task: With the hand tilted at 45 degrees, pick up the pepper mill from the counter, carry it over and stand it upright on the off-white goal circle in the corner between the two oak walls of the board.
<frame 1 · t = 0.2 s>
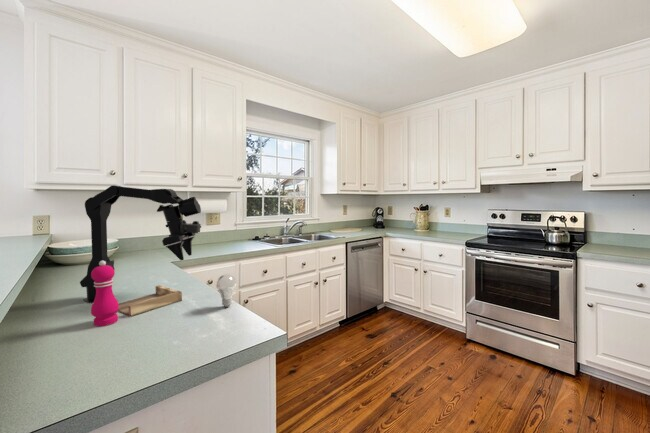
hand: (186, 257, 121), 15 cm above the counter, tool pointing down, fingers open, 9 cm apart
brown flat rimmed piece: (146, 303, 113), on the counter
pepper mill: (106, 323, 97), on the counter
light bulb: (227, 307, 109), on the counter
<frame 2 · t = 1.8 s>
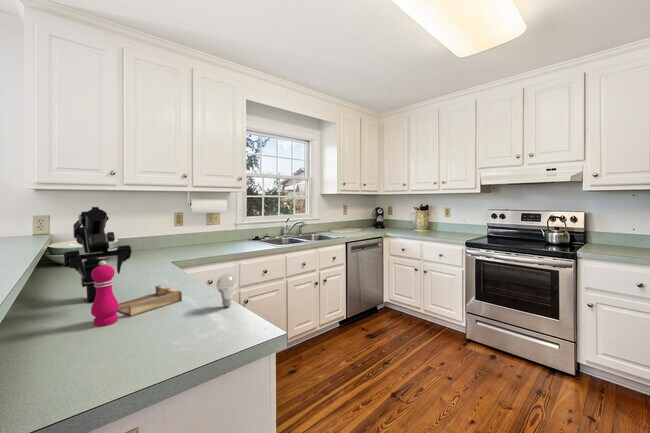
hand: (102, 275, 102), 13 cm above the counter, tool tilted 45°, fingers open, 9 cm apart
nothing on the counter moved.
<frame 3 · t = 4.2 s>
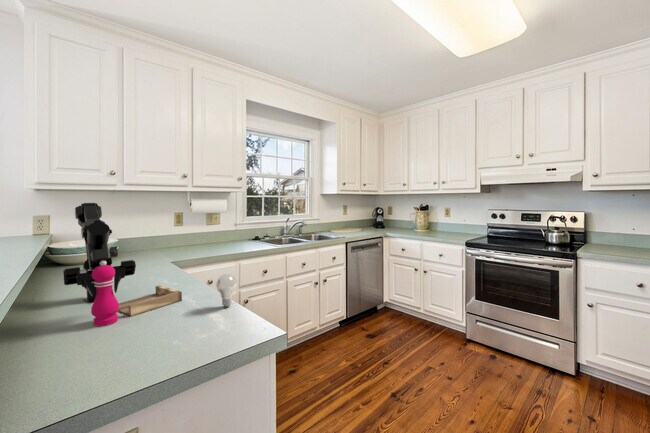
hand: (104, 294, 95), 10 cm above the counter, tool tilted 45°, fingers open, 5 cm apart
pepper mill: (106, 322, 97), on the counter, touching gripper
everything else where it was.
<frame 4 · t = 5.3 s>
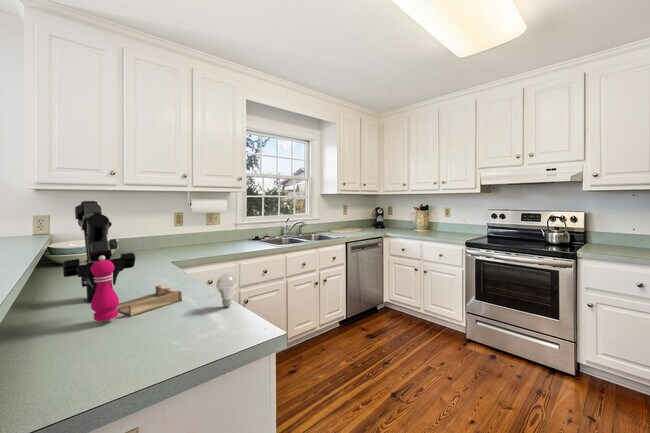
hand: (104, 286, 95), 12 cm above the counter, tool tilted 45°, fingers closed on pepper mill, 5 cm apart
pepper mill: (106, 317, 97), point 1 cm above the counter, touching gripper
everything else where it was.
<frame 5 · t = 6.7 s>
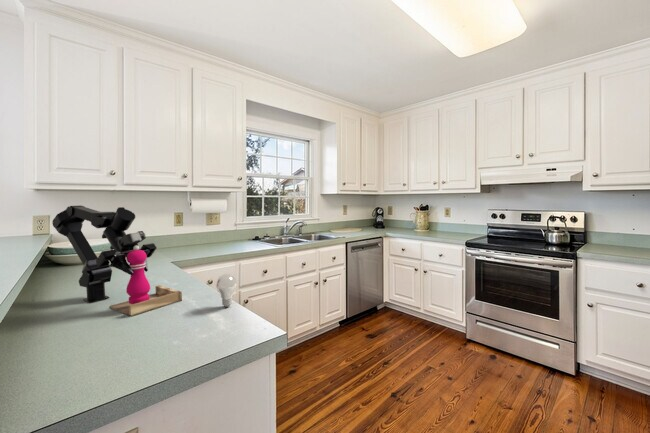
hand: (139, 272, 107), 13 cm above the counter, tool tilted 45°, fingers closed on pepper mill, 5 cm apart
pepper mill: (139, 301, 108), point 3 cm above the counter, touching gripper
everything else where it was.
when the fingers open (11 cm above the counter, at t = 8.1 s): pepper mill stays where it is, resting on brown flat rimmed piece.
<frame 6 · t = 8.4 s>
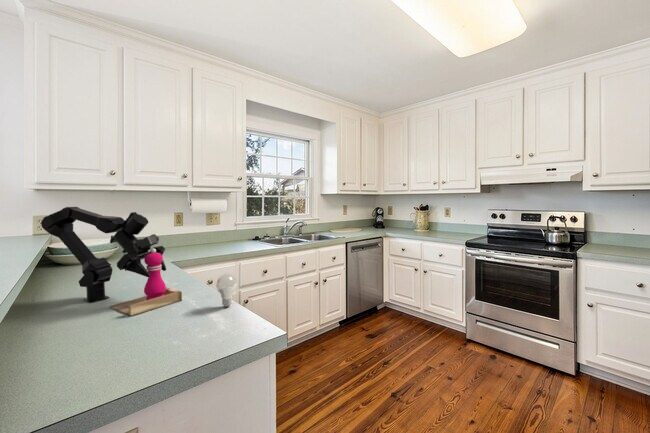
hand: (157, 273, 113), 11 cm above the counter, tool tilted 45°, fingers open, 8 cm apart
pepper mill: (155, 301, 114), resting on brown flat rimmed piece
everything else where it was.
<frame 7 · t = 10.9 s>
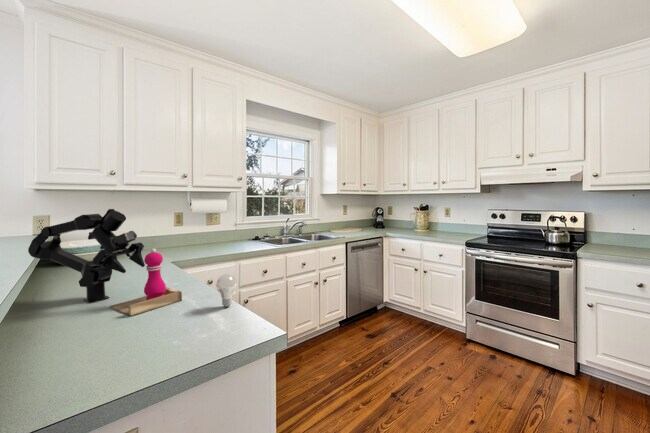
hand: (134, 269, 115), 13 cm above the counter, tool tilted 45°, fingers open, 9 cm apart
nothing on the counter moved.
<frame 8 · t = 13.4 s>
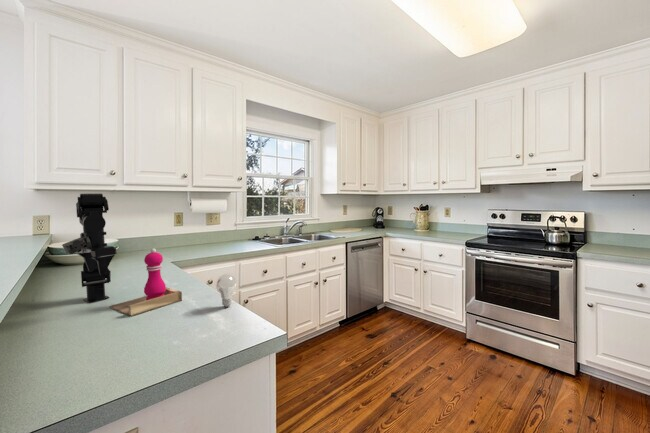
hand: (96, 273, 107), 13 cm above the counter, tool pointing down, fingers open, 9 cm apart
nothing on the counter moved.
at the end: pepper mill 0.1 cm from the target spot on the brown flat rimmed piece, point 0.4 cm above the brown flat rimmed piece's base; pepper mill tilted 0°; the gripper is holding nothing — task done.
